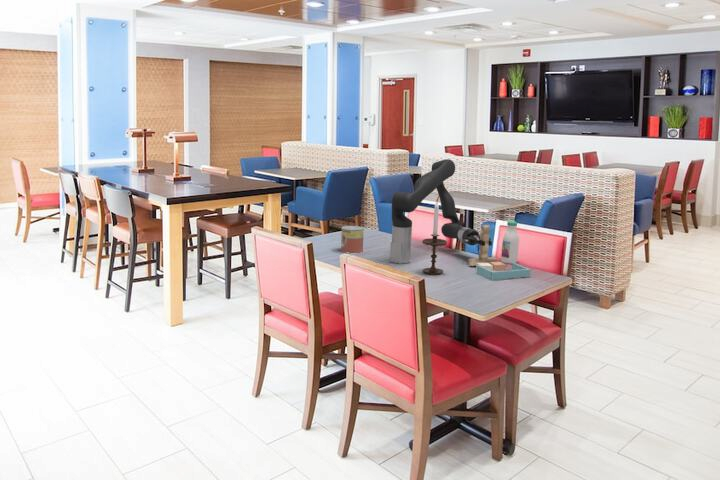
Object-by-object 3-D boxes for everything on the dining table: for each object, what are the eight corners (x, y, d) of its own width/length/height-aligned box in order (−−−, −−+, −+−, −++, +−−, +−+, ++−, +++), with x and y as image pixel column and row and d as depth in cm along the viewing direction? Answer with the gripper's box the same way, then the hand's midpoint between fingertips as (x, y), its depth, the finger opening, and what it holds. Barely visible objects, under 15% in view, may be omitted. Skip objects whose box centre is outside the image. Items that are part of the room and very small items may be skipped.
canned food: (337, 249, 327) (338, 226, 324) (357, 247, 332) (358, 225, 329) (346, 254, 317) (346, 230, 314) (366, 252, 322) (367, 229, 319)
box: (476, 272, 290) (477, 265, 289) (513, 270, 297) (514, 262, 296) (491, 280, 278) (492, 272, 278) (530, 277, 286) (530, 269, 285)
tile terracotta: (489, 268, 300) (489, 262, 299) (500, 268, 301) (500, 261, 301) (494, 271, 295) (494, 265, 294) (505, 271, 296) (505, 264, 295)
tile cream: (476, 269, 297) (476, 263, 297) (487, 268, 299) (487, 262, 298) (481, 272, 292) (481, 266, 292) (492, 271, 294) (492, 265, 293)
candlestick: (441, 269, 294) (445, 193, 287) (447, 275, 284) (452, 197, 277) (418, 269, 293) (422, 193, 285) (424, 275, 282) (428, 196, 275)
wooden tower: (468, 264, 302) (470, 225, 298) (493, 262, 307) (496, 224, 303) (471, 265, 299) (474, 227, 295) (496, 264, 304) (500, 225, 300)
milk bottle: (514, 260, 316) (518, 220, 312) (518, 264, 309) (522, 223, 305) (499, 259, 316) (502, 220, 312) (503, 263, 309) (506, 222, 304)
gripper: (456, 229, 310) (475, 236, 295) (481, 228, 315) (501, 235, 300) (455, 244, 312) (474, 252, 296) (480, 242, 317) (499, 250, 301)
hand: (487, 243), depth 298 cm, fingers closed on wooden tower, 3 cm apart
